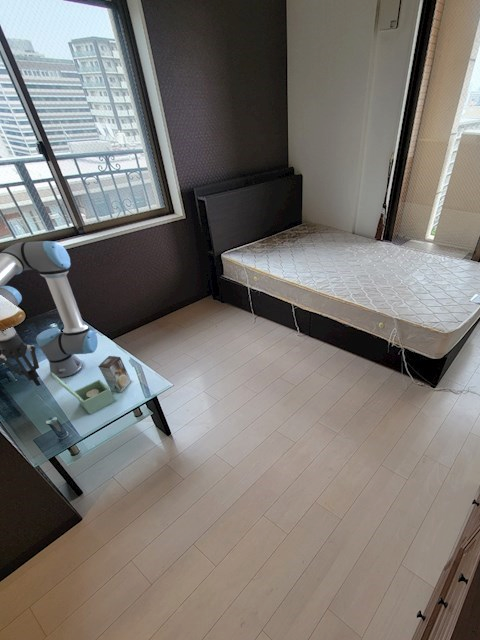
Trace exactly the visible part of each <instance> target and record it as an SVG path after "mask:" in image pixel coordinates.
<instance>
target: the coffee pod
mask: <svg viewBox="0 0 480 640" xmlns="http://www.w3.org/2000/svg"><path fill="white" fill-rule="evenodd" d="M97 394H99V391H98V390H97V389H93V390H90V391H88V392H87V393H86V396H87V397H88V398H91V397H93V396H95V395H97Z"/></svg>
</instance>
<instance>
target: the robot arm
mask: <svg viewBox="0 0 480 640" xmlns="http://www.w3.org/2000/svg"><path fill="white" fill-rule="evenodd" d="M71 264H72V263H71V258H70V255H69V253H68V251H67V249H66V248H65V247H64V246H63V245H62V244H60V242H58V241H50V240H42V241H41V240H40V241H39V240H38V241H20V242H17V243H13V244H12V245H10V246H8V247H6V248H4V250H1V252H0V295H2V296H3V297H5V298H6V299H8V300H9V301H10V302H12V303H13V304H14V305H16V306H17V307H18V306H19V304H20V303H21V302H22V300H23V296H22V294H21V293H20V291H19V290H18V289H17V288H15V287H13V286H10V285H7V284H8V282H9V281H10V280H11V279H12V278H14V276H15V275H20V274H21V273H23V272H25V271H32V270H34V271H35V270H36V271H38V274H39V276H41V277H43V278H44V279H45V281H46V283H47V286H48V289H49V291H50V294H51V296H52V299H53V302H54V304H55V307H56V309H57V311H58V314H59V317H60V319H61V322H63V324H64V329H63V330H62V329H60V328H57V327H52V328H48V329H45V330H43V331H41V332H40V333H39V334H37V335H36V338H35V341H36V344H37V345H38V347H39V349H40V350H41V352H42V353H43V354H44V356H45V357H46V359H47V361H48V362H49V363H48V365H49V370H50V371H49V372H50V374H51V373H53V374H55V375H56V376H57V377H58V378H59V379H60V378H68V377H71V376H74V375H77V373H79V372H80V371H81V370H82V369H83V367H84V363H83V362H82V361H81V359H80V358H78V357H77V355H88V354H93V353H95V351H96V350H97V348H98V344H99V343H98V342H99V340H98V336H97V333H96V332H95V331H94V330H90V328H89V326H88V325H87V324H86V323H84V320H83V318H82V314H81V313H80V309H79V306H78V303H77V301H76V298H75V296H74V293H73V290H72V287H71V285H70V282H69V279H68V276H67V275H68V273H69V272H70V271H69V268H70V267H71ZM61 330H62V331H63V332H61ZM36 348H37V347H36V346H35V345H34V344H26V343H25V342H24V341H23V340H22V338H21V336H20V335H19V333H17V331H16V328H14V326H13V327H11V328H8V329H6V330H4V331H0V353H1V354H0V363H2V364H5V365H6V366H7V367H9V368H10V370H12V371H13V372H15V374H17V375H18V376H20V377H21V376H25V377H26V378H27V380H28V381H33V383H34V385H36V387H39V386H42V383H40V381H39V379H38V378H40V375H39V374H38V372H37V370H38V369H40V365H39V361H38V358H37V354H36ZM27 350H28V351H29V354H30V357H31V360H32V363H31V361H30V360H29V359H28V356H27V355H26V354H27ZM7 358H9V359H12V360H14V361H15V362H16V364H17V366H18V367H19V368H17V367H16V366H15V365H13V363H11V362H10V361H9V360H8V359H7ZM19 358H22V359H23V361H24V363H25V364H26V365H27V367H28V368H29V370H27V369H26V367H25V366H24V364H23V363H22V361H21V360H20V359H19ZM32 364H33V365H32Z"/></svg>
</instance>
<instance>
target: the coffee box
mask: <svg viewBox="0 0 480 640" xmlns="http://www.w3.org/2000/svg"><path fill="white" fill-rule="evenodd" d="M97 367H98V368H99V370H100V372H101V374H102V377H103V378H104V380H105V382H106V385H108V386H107V387H108V388H109V389H110V391H111V392H120V393H123V391H124V390H125V389H126V388H127V387H128V385H129V384H131V382H132V380H131V377H130V375H129V373H128V371H127V368H126V366H125V364H124V363H123V359H122V358H121V356H115V355H108V356H107V357H106V358H105V359H104V360H102V362H101V363H100V364H99V365H98V366H97Z"/></svg>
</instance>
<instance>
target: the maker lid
mask: <svg viewBox="0 0 480 640" xmlns="http://www.w3.org/2000/svg"><path fill="white" fill-rule="evenodd" d="M50 375H51V377H53V378H54V379H55V380H56V382H57V383H58V384H59V385H60V386H61V387H63V388H64V389H65V390H66V391H67V392H68V393H70V394H71V396H73V397H75V398H76V399H77V400H79V401H81V402H83V400H82V399H81V398H80V397H79V396H78V395H77V394H76V393H75V392H74V391H75V390H74V389H72V388H71V387H70V386H69V385H68V384H66V382H65V381H63V380H62V379H60V378H59V377H57V376H56V375H55V374H53V373H51V372H50ZM79 401H78V402H79Z"/></svg>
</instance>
